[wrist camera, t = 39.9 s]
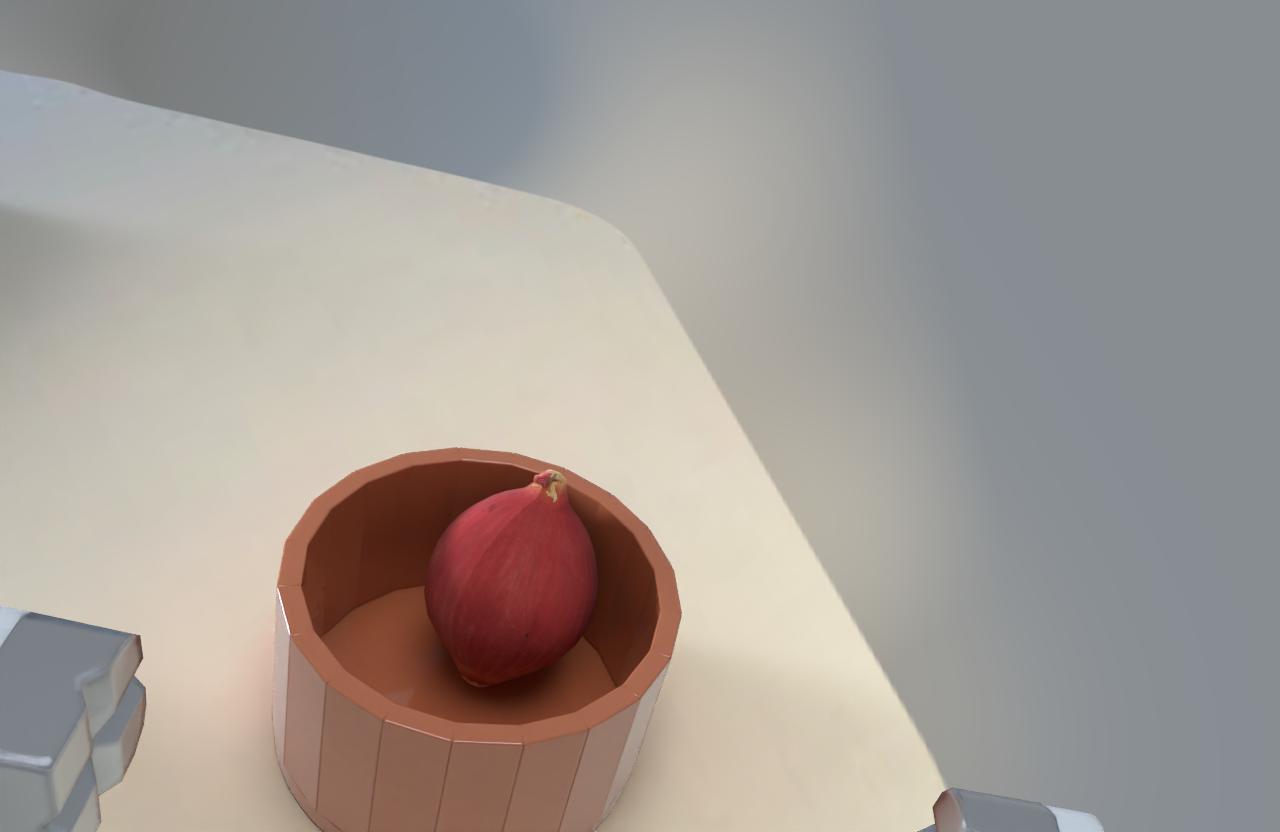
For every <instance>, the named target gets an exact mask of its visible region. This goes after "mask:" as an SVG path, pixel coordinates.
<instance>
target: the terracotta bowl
mask: <svg viewBox="0 0 1280 832" xmlns="http://www.w3.org/2000/svg"><path fill="white" fill-rule="evenodd" d="M550 469H551V470H554V471H557V472H560V473H561V474H562V475H563V476H564V477H565V478H566V479H567V484H566V485H567V493H568V501H569V503H570V505H571V507H572V509H573V510H574V511H575V513H576V514H577V515H578V517H579V518H580V520H581V521H582V523H583V525H584V526H585V528H586V530H587V532H588V535H589V537H590V539H591V542H592V545H593V549H594V552H595V557H596V565H597V574H598V589H597V599H596V604H595V608H594V611H593V615H592V618H591V622H590V624H589V626H588V627H587V629H586V630H585V632H584V634H583V635H582V637H581V638H580V640H579V641H578V643H577V644H576V645H575V646H574V647H573V648H572V649H571V650H569V651H568V652H567V653H566V654H565V655H563V656H562V657H561V658H560V659H559V660H557V661H556V662H554V663H552V664H550V665H548V666H545V667H543V668H541V669H539V670H537V671H535V672H532V673H529V674H526V675H523V676H520V677H517V678H514V679H510V680H507V681H503V682H500V683H497V684H494V685H491V686H488V687H477V686H474V685H472V684H470V683H468V682H466V681H465V680H464V679H463V678H462V676H461V675H460V673H459V671H458V669H457V666H456V664H455V661H454V659H453V658H452V656H451V654H450V653H449V651H448V650H447V648H446V647H445V645H444V644H443V642H442V641H441V639H440V638H439V636H438V635H437V633H436V631H435V629H434V627H433V625H432V623H431V621H430V619H429V617H428V615H427V608H426V602H425V595H424V589H425V584H426V579H427V574H428V569H429V563H430V559H431V557H432V554H433V552H434V550H435V547H436V545H437V543H438V540H439V539H440V537H441V536H442V535H443V533H444V532H445V530H446V529H447V527H448V526H449V525H450V524H451V523H452V522H453V521H454V520H455V519H456V518H457V517H458V516H459V515H460V514H461V513H463V512H464V511H466V510H467V509H469V508H470V507H472V506H473V505H475V504H477V503H478V502H480V501H482V500H484V499H486V498H488V497H490V496H492V495H495V494H498V493H501V492H504V491H509V490H514V489H519V488H524V487H527V486H528V485H530V484H531V483H533V482H534V481H533V480H534V477H535V475H539V474H540V473H542V472H543V471H546V470H550ZM681 614H682V612H681V606H680V601H679V595H678V590H677V584H676V579H675V573H674V570H673V568H672V566H671V564H670V562H669V561H668V559H667V557H666V556H665V554H664V552H663V551H662V549H661V547H660V546H659V544H658V542H657V541H656V539H655V537H654V535H653V534H652V532H651V530H650V529H649V528H648V527H647V526H646V525H645V524H644V523H643V522H642V521H641V520H640V519H639V518H638V517H637V516H636V515H634V514H633V513H632V512H631V511H630V510H629V509H628V508H627V507H626V506H625V505H624V504H623V503H621V502H620V501H619V500H618V499H617V498H616V497H615V496H614V495H611V493H609V492H607V491H606V490H604V489H602V488H600V487H598V486H597V485H595V484H593V483H591V482H589V481H588V480H586V479H584V478H582V477H580V476H579V475H577V474H575V473H573V472H571V471H569V470H567V469H566V470H565V468H563V467H560V466H556V465H553V464H550V463H546V462H543V461H540V460H536V459H533V458H530V457H527V456H523V455H520V454H517V453H514V454H513V453H511V452H501V451H490V450H480V449H469V448H459V449H458V448H457V447H456V448H447V449H438V450H429V451H420V452H411V453H405V454H401V455H398V456H395V457H392V458H390V459H387V460H384V461H381V462H378V463H376V464H373V465H370V466H367V467H364V468H362V469H359V470H356V471H355V472H352V473H351V474H349V475H348V476H346V477H345V478H344V479H342V480H341V481H339V482H338V483H337V484H335V485H334V486H332V487H331V488H330V489H328V490H327V491H325V492H324V493H323V494H321V495H320V496H318V497H317V498H316V499H314V501H313V502H312V503H311V504H310V506H309V507H308V509H307V510H306V512H305V513H304V515H303V516H302V517H301V519H300V520H299V522H298V523H297V525H296V526H295V528H294V529H293V531H292V532H291V534H290V535H289V536H288V538H287V539H286V541H285V544H284V550H283V555H282V561H281V566H280V572H279V577H278V582H277V594H276V620H275V646H274V673H273V699H272V720H273V724H274V726H273V727H274V740H275V749H276V753H277V757H278V761H279V765H280V768H281V771H282V773H283V775H284V778H285V780H286V782H287V785H288V787H289V789H290V790H291V792H292V794H293V795H294V797H295V798H296V800H297V802H298V803H299V805H300V806H301V808H302V809H303V810H304V811H305V812H306V813H307V815H308V816H309V817H310V818H311V819H312V820H313V822H314V823H315V824H316V825H317V826H318V827H319V828H320V829H322V830H323V831H324V832H593V831H594V830H595V829H596V828H597V827H598V826H599V825H600V824H601V822H602V821H603V820H604V819H605V818H606V817H607V816H608V814H609V813H610V811H611V810H612V808H613V807H614V805H615V803H616V802H617V800H618V799H619V797H620V795H621V793H622V790H623V788H624V786H625V784H626V782H627V781H628V779H629V777H630V775H631V772H632V769H633V766H634V764H635V761H636V758H637V755H638V752H639V749H640V746H641V744H642V741H643V738H644V735H645V732H646V729H647V727H648V724H649V721H650V718H651V715H652V712H653V709H654V707H655V704H656V701H657V698H658V695H659V692H660V689H661V687H662V684H663V681H664V678H665V675H666V672H667V669H668V667H669V664H670V661H671V658H672V654H673V650H674V646H675V641H676V637H677V633H678V629H679V625H680V621H681V617H682V616H681Z"/></svg>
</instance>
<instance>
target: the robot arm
mask: <svg viewBox="0 0 1280 832" xmlns="http://www.w3.org/2000/svg"><path fill="white" fill-rule="evenodd" d="M142 659H143V653H142V646H141V638H140V635H136V634H131V633H126V632H122V631H117V630H112V629H108V628H103V627H98V626H94V625H89V624H84V623H80V622H75V621H70V620H66V619H61V618H56V617H52V616H47V615H42V614H38V613H34V612H29V611H24V610H19V609H14V608H9V607H4V606H0V832H96V831H97V829H98V827H99V825H100V823H101V815H100V806H99V797H98V796H100V795H101V794H103V793H104V792H106V791H107V790H109V789H110V788H112V787H113V786H115V785H117V784H118V783H120V782H121V781H122V779H123V777H124V775H125V773H126V771H127V769H128V767H129V765H130V763H131V761H132V759H133V756H134V754H135V751H136V748H137V745H138V741H139V738H140V735H141V732H142V729H143V726H144V718H145V710H146V690H145V687H144V686H143V684H142V683H141V682H140V681H139V680H138V679H137V678H136V677H135V676H134V674H135V672H136V670H137V668H138V667H139V665H140V663H141V661H142ZM933 812H934V819H935V824H934V825H931V826H929V827H927V828H925V829H922V830H920V831H918V832H1104V829H1103V826H1102V824H1101V823H1100V822H1099V820H1098V819H1097V818H1096V816H1095V815H1093V814H1089V813H1085V812H1079V811H1074V810H1068V809H1062V808H1056V807H1051V806H1043V805H1042V804H1041V803H1037V802H1031V801H1025V800H1020V799H1014V798H1008V797H1002V796H997V795H990V794H985V793H980V792H973V791H968V790H962V789H956V788H950V789H948V790H946V791H944V792H942V793H941V795H940V796H939V798H938V800H937V801H936V803H935V804H934V806H933Z"/></svg>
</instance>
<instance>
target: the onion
mask: <svg viewBox="0 0 1280 832" xmlns="http://www.w3.org/2000/svg"><path fill="white" fill-rule="evenodd" d="M533 481H534V482H533V483H531V484H530V485H528V486H527V487H524V488H519V489H514V490H509V491H504V492H501V493H498V494H495V495H492V496H490V497H488V498H486V499H484V500H482V501H480V502H478V503H477V504H475V505H473V506H472V507H470V508H469V509H467V510H466V511H464V512H463V513H461V514H460V515H459V516H458V517H457V518H456V519H455V520H454V521H453V522H452V523H451V524H450V525H449V526H448V527H447V529H446V530H445V532H444V533H443V535H442V536H441V537H440V539H439V540H438V543H437V545H436V547H435V550H434V552H433V554H432V557H431V559H430V563H429V569H428V574H427V579H426V584H425V589H424V595H425V602H426V608H427V615H428V617H429V619H430V621H431V623H432V625H433V627H434V629H435V631H436V633H437V635H438V636H439V638H440V639H441V641H442V642H443V644H444V645H445V647H446V648H447V650H448V651H449V653H450V654H451V656H452V658H453V659H454V661H455V664H456V666H457V669H458V671H459V673H460V675H461V676H462V678H463V679H464V680H465V681H466V682H468V683H470V684H472V685H474V686H477V687H488V686H491V685H494V684H497V683H500V682H503V681H507V680H510V679H514V678H517V677H520V676H523V675H526V674H529V673H532V672H535V671H537V670H539V669H541V668H543V667H545V666H548V665H550V664H552V663H554V662H556V661H557V660H559V659H560V658H561V657H562V656H563V655H565V654H566V653H567V652H568V651H569V650H571V649H572V648H573V647H574V646H575V645H576V644H577V643H578V641H579V640H580V638H581V637H582V635H583V634H584V632H585V630H586V629H587V627H588V626H589V624H590V622H591V618H592V615H593V611H594V608H595V604H596V599H597V589H598V574H597V565H596V557H595V552H594V549H593V545H592V542H591V539H590V537H589V535H588V532H587V530H586V528H585V526H584V525H583V523H582V521H581V520H580V518H579V517H578V515H577V514H576V513H575V511H574V510H573V509H572V507H571V505H570V503H569V501H568V493H567V485H566V484H567V479H566V478H565V477H564V476H563V475H562V474H561V473H560V472H557V471H554V470H551V469H550V470H546V471H543V472H542V473H540V474H539V475H535V477H534V480H533Z"/></svg>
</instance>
